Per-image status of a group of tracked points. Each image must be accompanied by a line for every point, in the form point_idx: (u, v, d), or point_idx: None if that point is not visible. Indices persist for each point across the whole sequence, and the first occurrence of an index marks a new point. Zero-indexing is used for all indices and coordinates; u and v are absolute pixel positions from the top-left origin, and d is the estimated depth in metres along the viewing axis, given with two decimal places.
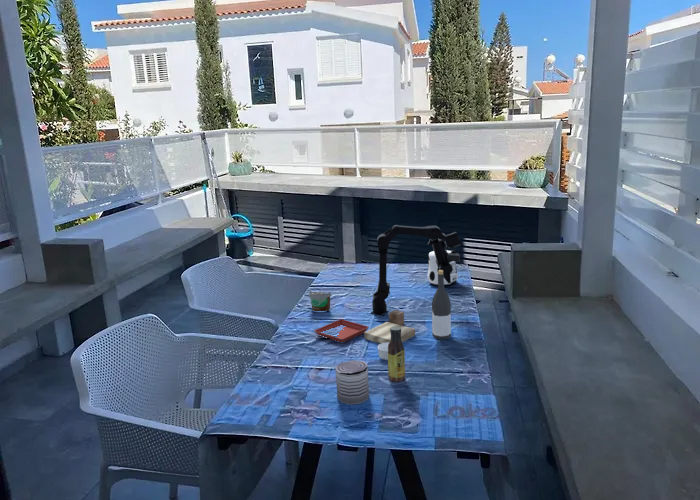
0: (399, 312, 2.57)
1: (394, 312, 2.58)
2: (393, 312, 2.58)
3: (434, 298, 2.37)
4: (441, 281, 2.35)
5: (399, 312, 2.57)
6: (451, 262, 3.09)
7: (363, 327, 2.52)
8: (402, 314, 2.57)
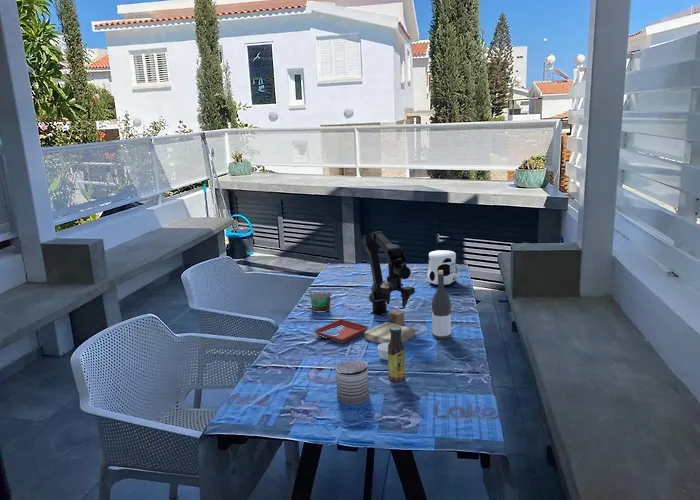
0: (399, 312, 2.57)
1: (394, 312, 2.58)
2: (393, 312, 2.58)
3: (434, 298, 2.37)
4: (441, 281, 2.35)
5: (399, 312, 2.57)
6: (451, 262, 3.09)
7: (363, 327, 2.52)
8: (402, 314, 2.57)
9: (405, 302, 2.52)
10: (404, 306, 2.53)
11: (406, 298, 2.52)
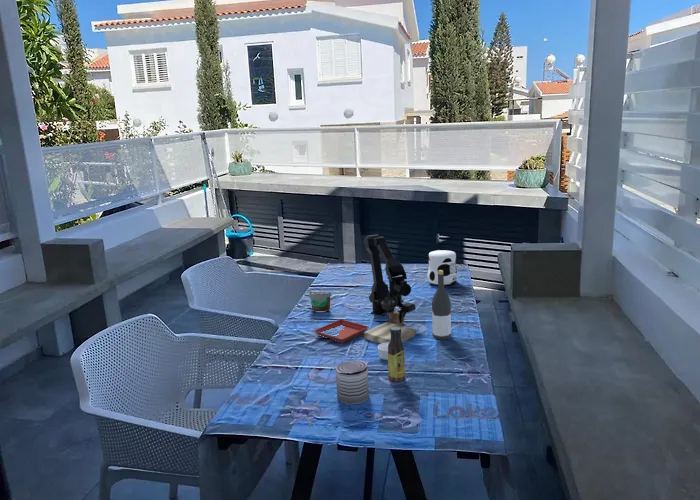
0: None
1: (394, 312, 2.58)
2: (393, 311, 2.58)
3: (434, 298, 2.37)
4: (441, 281, 2.35)
5: (398, 312, 2.57)
6: (451, 262, 3.09)
7: (363, 327, 2.52)
8: None
9: (402, 317, 2.55)
10: (401, 321, 2.56)
11: (403, 313, 2.55)
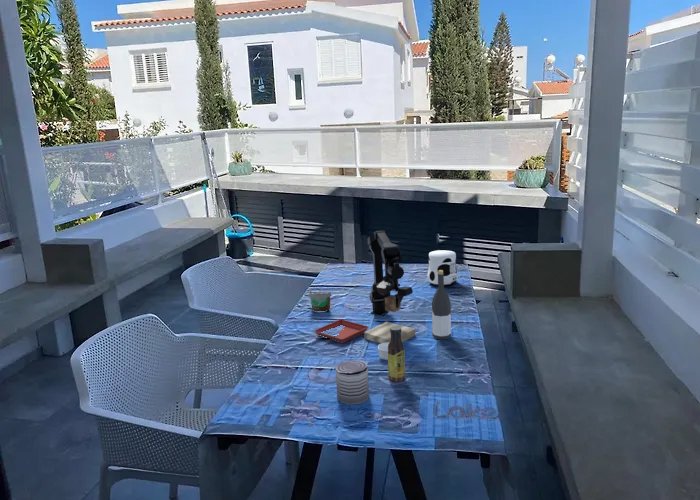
0: None
1: (390, 296, 2.47)
2: (390, 296, 2.48)
3: (434, 298, 2.37)
4: (441, 281, 2.35)
5: None
6: (451, 262, 3.09)
7: (363, 327, 2.52)
8: None
9: (399, 302, 2.45)
10: (398, 306, 2.46)
11: (400, 298, 2.45)
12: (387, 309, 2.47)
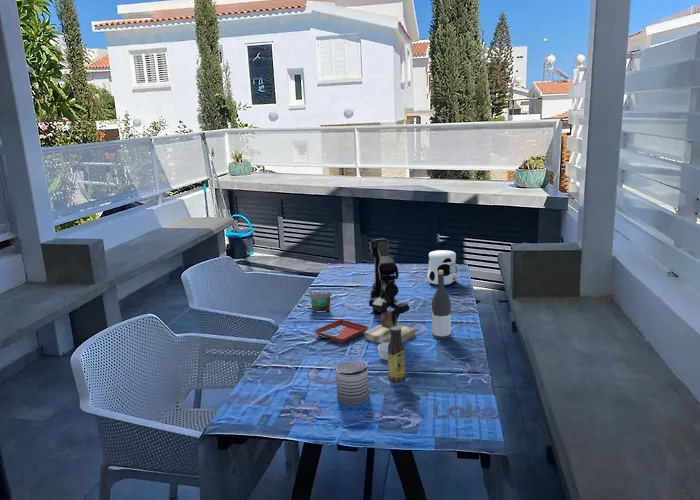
0: None
1: (387, 313, 2.42)
2: (386, 312, 2.42)
3: (434, 298, 2.37)
4: (441, 281, 2.35)
5: None
6: (451, 262, 3.09)
7: (363, 327, 2.52)
8: None
9: (395, 319, 2.40)
10: (394, 323, 2.40)
11: (396, 315, 2.39)
12: (383, 325, 2.42)
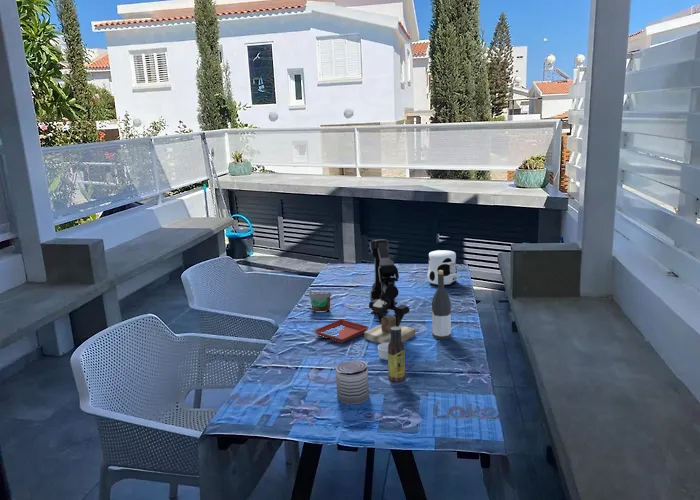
0: (392, 317, 2.42)
1: (387, 317, 2.42)
2: (386, 317, 2.43)
3: (434, 298, 2.37)
4: (441, 281, 2.35)
5: (392, 317, 2.42)
6: (451, 262, 3.09)
7: (363, 327, 2.52)
8: (395, 319, 2.42)
9: (399, 322, 2.39)
10: (398, 326, 2.39)
11: (400, 317, 2.38)
12: (383, 330, 2.42)
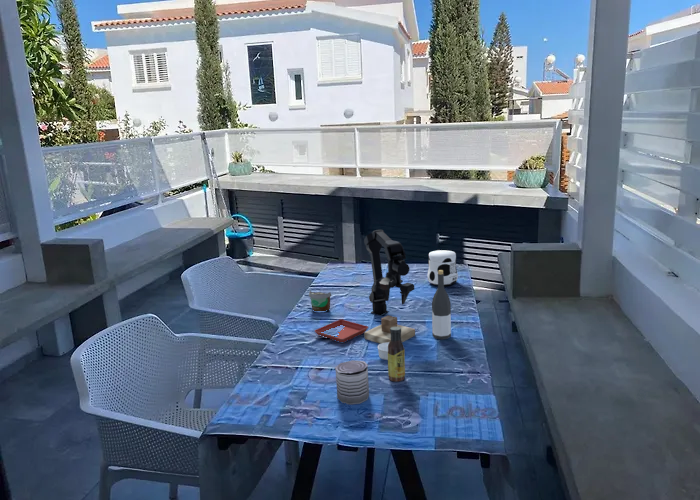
0: (392, 317, 2.42)
1: (387, 317, 2.42)
2: (386, 317, 2.43)
3: (434, 298, 2.37)
4: (441, 281, 2.35)
5: (392, 317, 2.42)
6: (451, 262, 3.09)
7: (363, 327, 2.52)
8: (395, 319, 2.42)
9: (404, 298, 2.50)
10: (403, 302, 2.51)
11: (405, 294, 2.50)
12: (383, 330, 2.42)
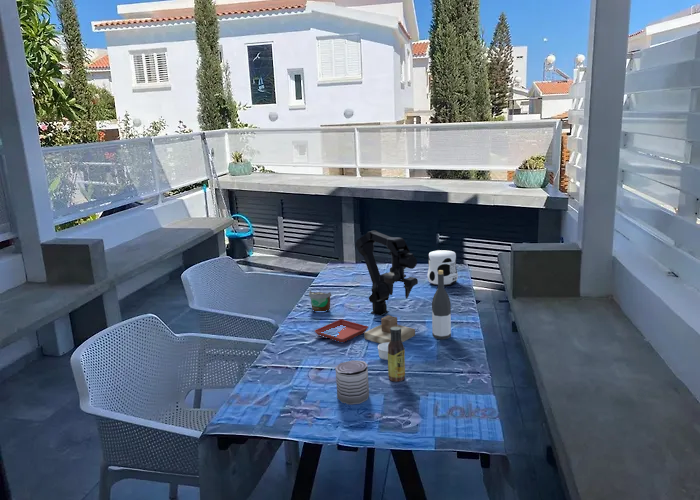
0: (392, 317, 2.42)
1: (387, 317, 2.42)
2: (386, 317, 2.43)
3: (434, 298, 2.37)
4: (441, 281, 2.35)
5: (392, 317, 2.42)
6: (451, 262, 3.09)
7: (363, 327, 2.52)
8: (395, 319, 2.42)
9: (408, 292, 2.56)
10: (407, 296, 2.57)
11: (409, 289, 2.56)
12: (383, 330, 2.42)
